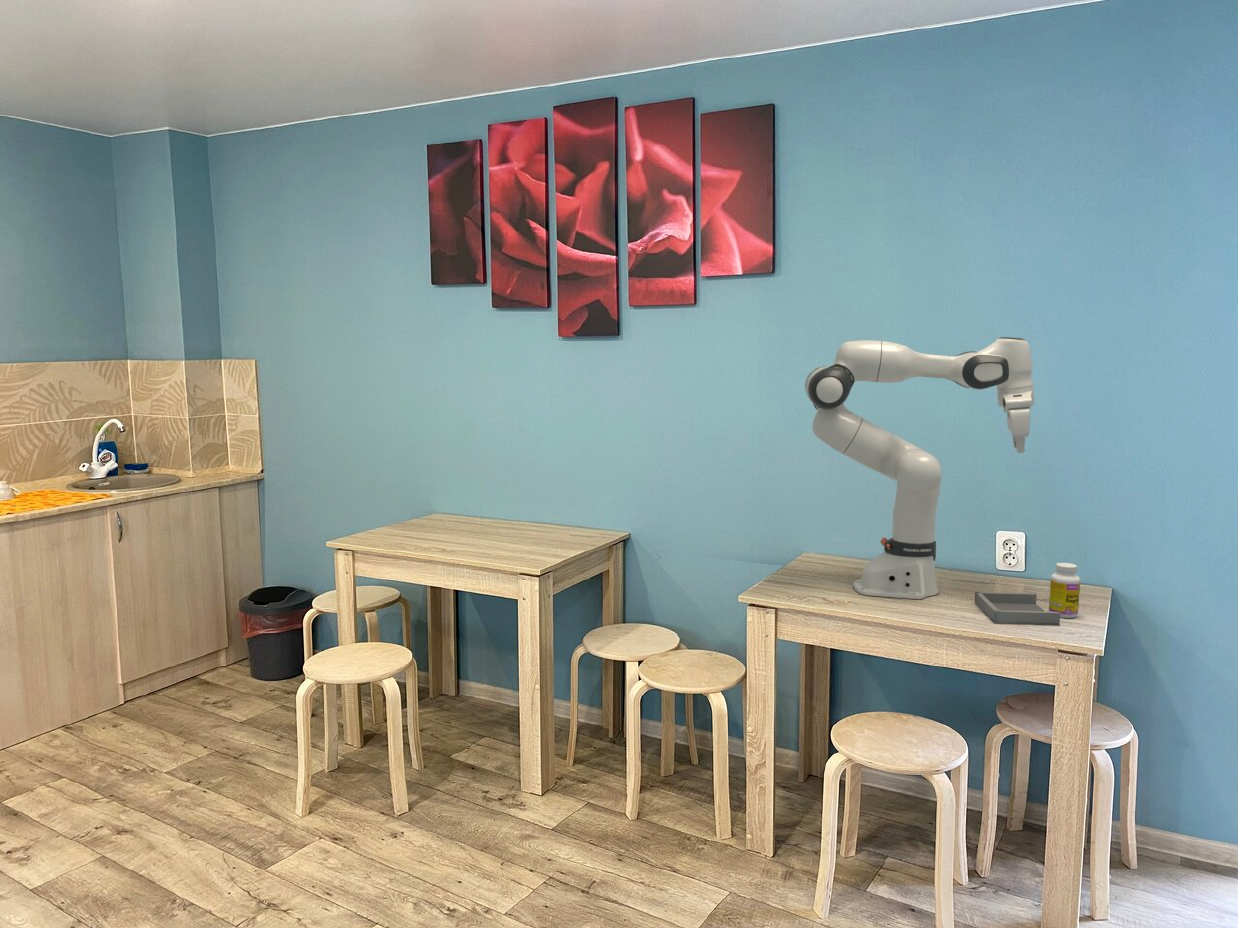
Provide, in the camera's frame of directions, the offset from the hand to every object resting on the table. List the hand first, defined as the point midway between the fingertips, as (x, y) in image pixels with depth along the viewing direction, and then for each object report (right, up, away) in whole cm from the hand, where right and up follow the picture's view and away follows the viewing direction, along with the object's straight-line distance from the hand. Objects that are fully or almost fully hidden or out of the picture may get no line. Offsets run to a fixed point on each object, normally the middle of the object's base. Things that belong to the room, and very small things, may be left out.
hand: (1019, 450), depth 246 cm
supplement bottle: (+5, -42, -14) cm, 44 cm away
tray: (-7, -41, -13) cm, 44 cm away
